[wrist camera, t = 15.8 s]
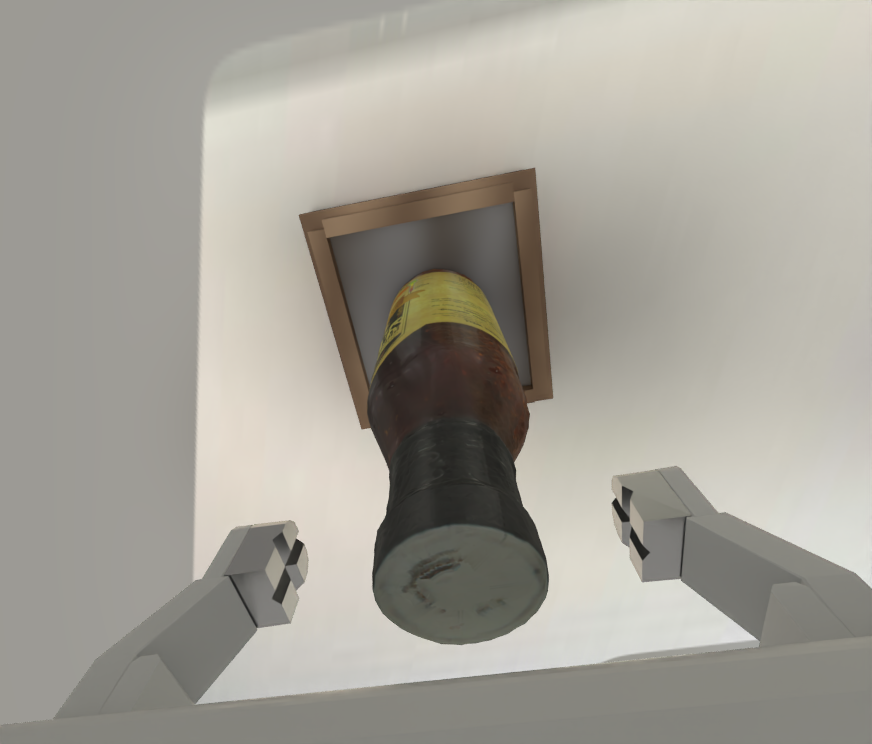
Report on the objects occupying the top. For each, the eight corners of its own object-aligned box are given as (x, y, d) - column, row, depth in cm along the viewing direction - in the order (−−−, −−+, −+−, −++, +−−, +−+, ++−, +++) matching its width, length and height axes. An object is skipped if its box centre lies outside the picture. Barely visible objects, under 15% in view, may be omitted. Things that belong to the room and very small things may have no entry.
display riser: (524, 169, 27) (539, 167, 23) (543, 380, 33) (556, 404, 29) (311, 212, 28) (293, 215, 24) (367, 409, 34) (359, 436, 30)
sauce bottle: (387, 268, 26) (282, 461, 8) (488, 262, 26) (620, 442, 8) (397, 366, 29) (336, 679, 11) (489, 361, 29) (588, 668, 10)
